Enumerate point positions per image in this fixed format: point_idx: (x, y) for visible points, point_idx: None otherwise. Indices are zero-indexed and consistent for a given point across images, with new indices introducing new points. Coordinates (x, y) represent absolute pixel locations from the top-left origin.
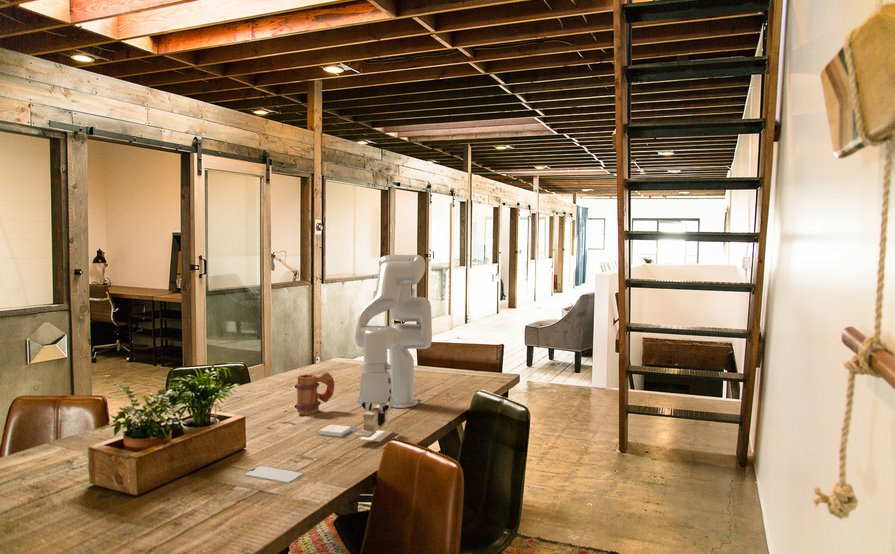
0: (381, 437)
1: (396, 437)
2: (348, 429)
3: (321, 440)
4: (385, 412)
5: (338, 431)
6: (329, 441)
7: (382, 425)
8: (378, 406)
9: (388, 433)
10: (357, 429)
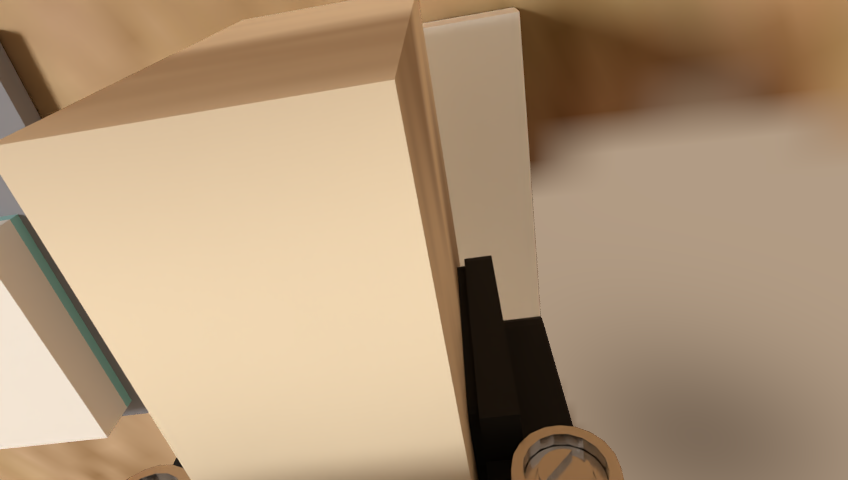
0: (506, 274)
1: (631, 104)
2: (27, 296)
3: (39, 458)
4: (432, 180)
5: (46, 420)
6: (113, 453)
7: (452, 221)
8: (227, 385)
9: (509, 109)
10: (10, 123)
